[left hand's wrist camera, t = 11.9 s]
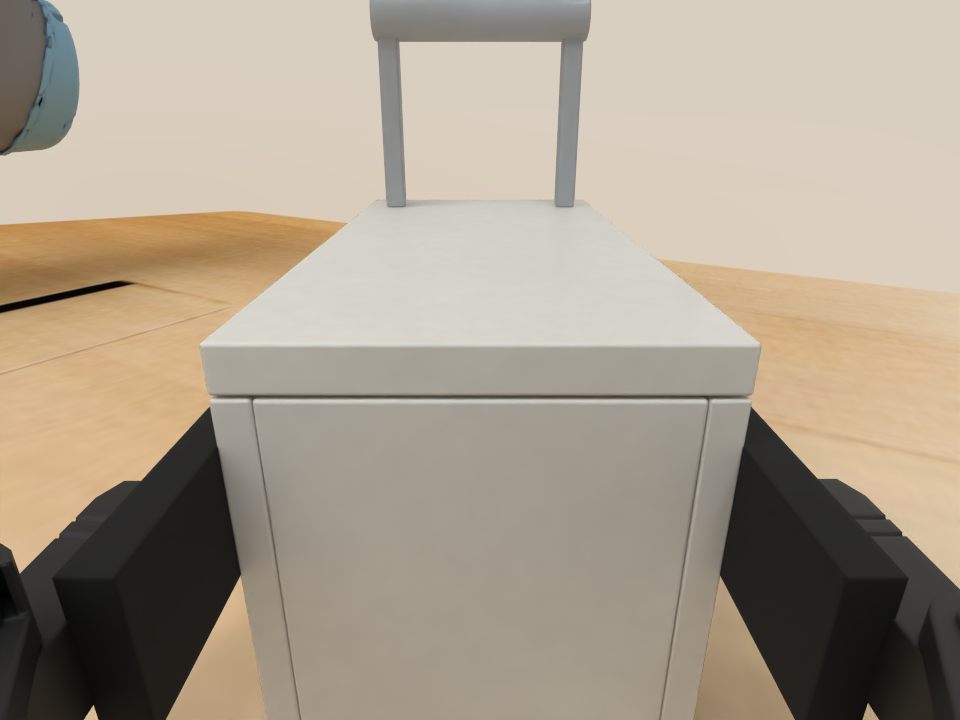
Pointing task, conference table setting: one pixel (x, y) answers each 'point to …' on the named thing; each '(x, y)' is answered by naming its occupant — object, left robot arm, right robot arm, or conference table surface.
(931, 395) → the conference table surface
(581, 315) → the lid
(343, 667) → the chest
